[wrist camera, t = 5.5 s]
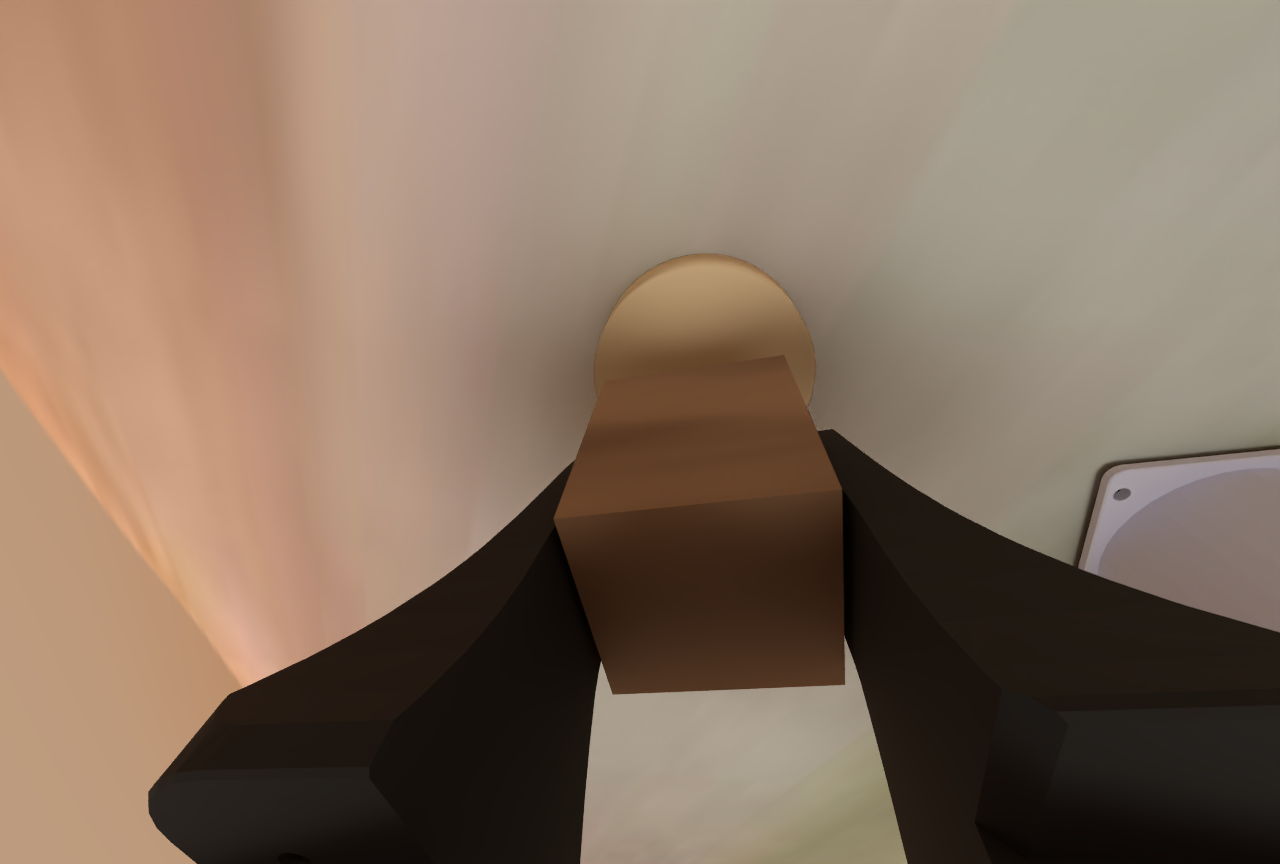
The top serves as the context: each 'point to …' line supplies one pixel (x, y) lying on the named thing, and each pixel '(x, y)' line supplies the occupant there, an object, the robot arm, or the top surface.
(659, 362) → the maple plinth
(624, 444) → the walnut block
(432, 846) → the robot arm
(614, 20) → the top surface
